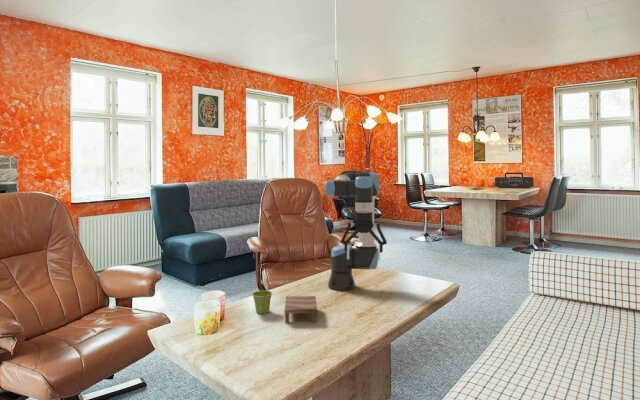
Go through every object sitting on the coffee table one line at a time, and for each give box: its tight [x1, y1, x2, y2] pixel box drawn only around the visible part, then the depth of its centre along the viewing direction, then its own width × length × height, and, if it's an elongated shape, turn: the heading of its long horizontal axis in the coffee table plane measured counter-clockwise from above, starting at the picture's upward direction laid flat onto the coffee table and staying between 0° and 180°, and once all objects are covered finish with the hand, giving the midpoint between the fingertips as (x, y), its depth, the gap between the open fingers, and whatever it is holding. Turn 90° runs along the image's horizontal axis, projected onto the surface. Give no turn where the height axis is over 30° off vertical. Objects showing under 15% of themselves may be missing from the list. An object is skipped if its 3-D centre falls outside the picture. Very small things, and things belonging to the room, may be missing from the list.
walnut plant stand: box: [284, 295, 318, 324], centre depth 182 cm, size 18×14×6 cm
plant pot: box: [251, 290, 273, 314], centre depth 187 cm, size 9×9×9 cm
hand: (363, 259), depth 178 cm, fingers open, 13 cm apart
